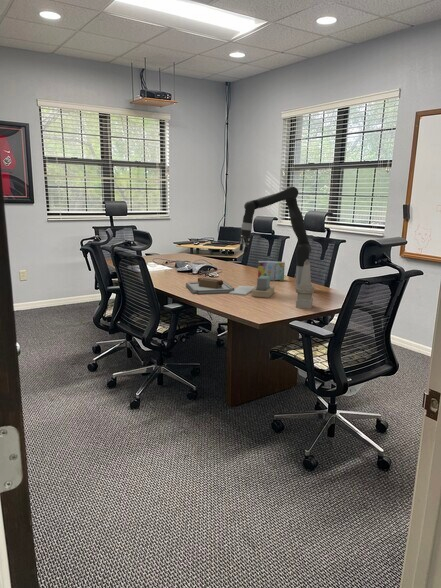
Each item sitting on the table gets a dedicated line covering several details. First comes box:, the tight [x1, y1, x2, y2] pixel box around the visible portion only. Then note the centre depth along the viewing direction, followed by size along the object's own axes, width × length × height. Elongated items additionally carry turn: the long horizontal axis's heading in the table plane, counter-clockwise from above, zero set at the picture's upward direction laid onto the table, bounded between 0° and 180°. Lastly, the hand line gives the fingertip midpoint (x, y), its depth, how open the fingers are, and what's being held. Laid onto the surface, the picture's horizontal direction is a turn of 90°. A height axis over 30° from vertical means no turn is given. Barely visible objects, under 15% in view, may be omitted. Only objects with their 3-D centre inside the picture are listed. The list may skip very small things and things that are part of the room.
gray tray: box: [185, 277, 235, 295], centre depth 316 cm, size 30×30×8 cm
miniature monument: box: [295, 259, 316, 310], centre depth 270 cm, size 10×10×30 cm
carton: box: [250, 285, 276, 299], centre depth 304 cm, size 12×21×4 cm, turn 161°
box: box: [256, 276, 271, 291], centre depth 303 cm, size 6×12×12 cm, turn 161°
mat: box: [228, 285, 256, 296], centre depth 313 cm, size 12×26×1 cm, turn 161°
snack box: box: [257, 260, 286, 282], centre depth 355 cm, size 21×6×15 cm, turn 84°
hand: (243, 251), depth 319 cm, fingers open, 8 cm apart
